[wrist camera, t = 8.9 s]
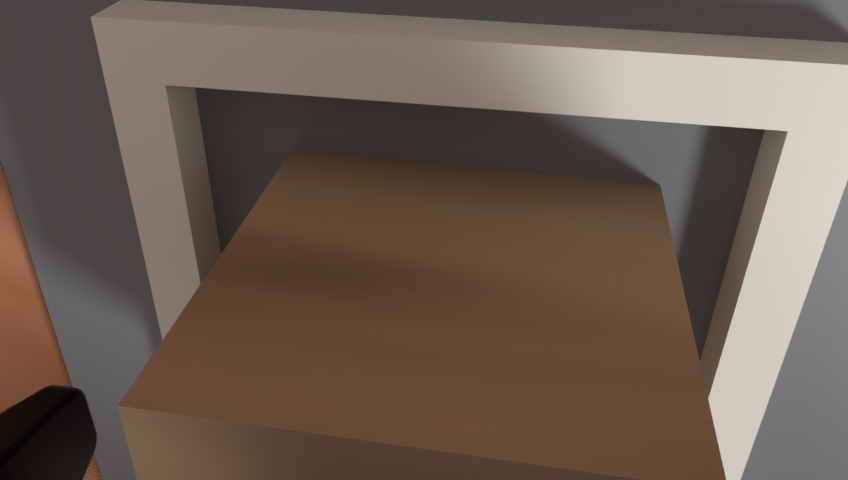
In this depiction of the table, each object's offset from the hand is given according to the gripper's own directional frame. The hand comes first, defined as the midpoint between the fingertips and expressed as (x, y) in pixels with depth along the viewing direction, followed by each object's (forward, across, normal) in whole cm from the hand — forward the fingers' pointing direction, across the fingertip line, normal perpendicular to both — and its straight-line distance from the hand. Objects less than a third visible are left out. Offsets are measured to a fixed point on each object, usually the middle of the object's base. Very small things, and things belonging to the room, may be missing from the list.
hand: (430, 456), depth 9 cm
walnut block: (+3, 0, 0) cm, 3 cm away
